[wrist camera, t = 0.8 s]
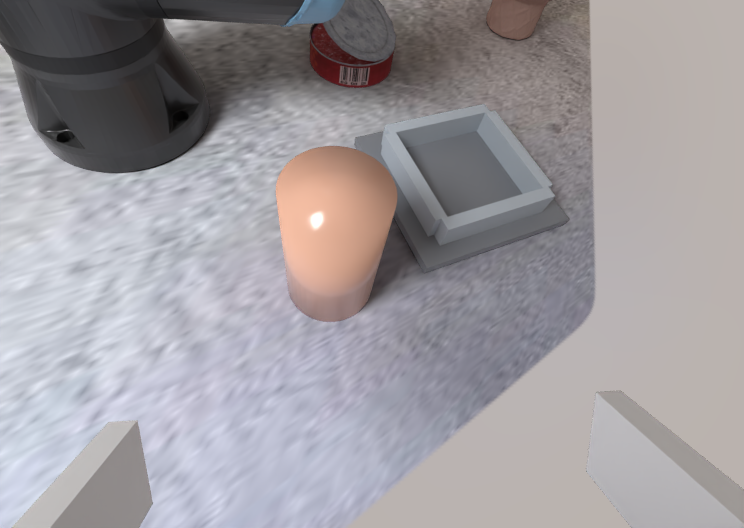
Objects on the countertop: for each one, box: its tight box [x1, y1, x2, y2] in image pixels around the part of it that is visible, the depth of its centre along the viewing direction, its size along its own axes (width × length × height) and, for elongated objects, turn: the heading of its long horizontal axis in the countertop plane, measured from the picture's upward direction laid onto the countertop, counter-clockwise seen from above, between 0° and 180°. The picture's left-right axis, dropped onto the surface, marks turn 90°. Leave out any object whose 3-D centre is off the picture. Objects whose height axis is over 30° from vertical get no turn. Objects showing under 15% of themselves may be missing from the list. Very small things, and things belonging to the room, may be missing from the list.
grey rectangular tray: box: [354, 104, 569, 273], centre depth 39 cm, size 16×16×4 cm
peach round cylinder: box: [276, 146, 397, 322], centre depth 28 cm, size 7×7×12 cm
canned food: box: [310, 0, 396, 88], centre depth 46 cm, size 11×10×10 cm
